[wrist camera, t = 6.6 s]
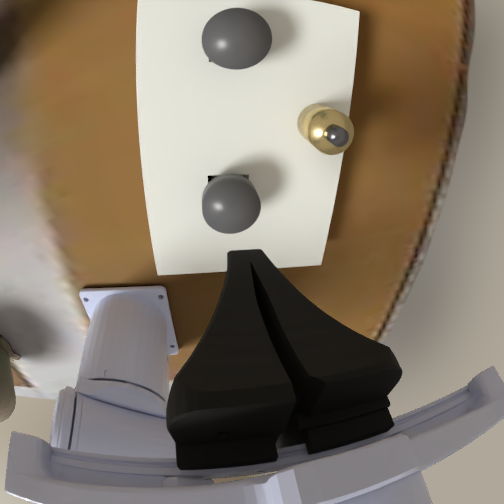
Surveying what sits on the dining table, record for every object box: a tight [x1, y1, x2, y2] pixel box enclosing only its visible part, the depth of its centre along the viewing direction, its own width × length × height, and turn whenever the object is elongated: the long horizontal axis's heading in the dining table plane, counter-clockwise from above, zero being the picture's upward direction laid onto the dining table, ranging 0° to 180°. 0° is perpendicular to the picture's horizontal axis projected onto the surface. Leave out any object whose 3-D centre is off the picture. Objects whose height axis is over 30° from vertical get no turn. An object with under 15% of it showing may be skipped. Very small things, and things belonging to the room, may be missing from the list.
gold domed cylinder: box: [297, 104, 354, 155], centre depth 15 cm, size 2×2×3 cm
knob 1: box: [202, 8, 272, 70], centre depth 13 cm, size 3×3×4 cm
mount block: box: [136, 0, 360, 275], centre depth 17 cm, size 18×12×2 cm, turn 177°
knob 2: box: [202, 173, 261, 234], centre depth 18 cm, size 3×3×4 cm
